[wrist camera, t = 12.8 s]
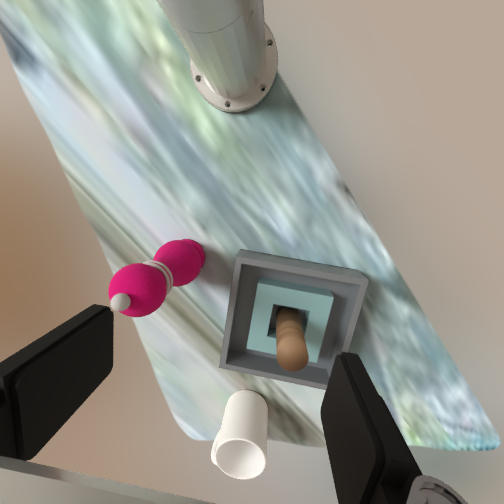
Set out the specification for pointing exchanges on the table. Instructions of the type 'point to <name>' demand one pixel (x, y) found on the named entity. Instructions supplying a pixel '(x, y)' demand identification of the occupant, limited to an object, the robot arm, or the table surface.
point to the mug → (242, 436)
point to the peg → (290, 340)
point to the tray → (294, 273)
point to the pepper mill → (155, 278)
